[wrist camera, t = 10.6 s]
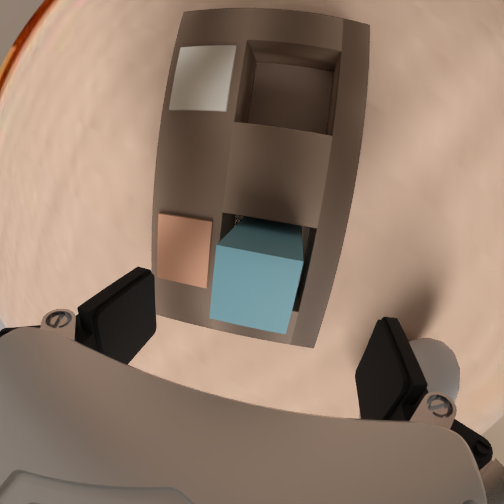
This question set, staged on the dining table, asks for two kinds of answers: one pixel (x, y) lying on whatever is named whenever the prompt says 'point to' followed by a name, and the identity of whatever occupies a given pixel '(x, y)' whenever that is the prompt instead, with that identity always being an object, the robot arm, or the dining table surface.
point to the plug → (257, 274)
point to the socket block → (253, 157)
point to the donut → (437, 366)
